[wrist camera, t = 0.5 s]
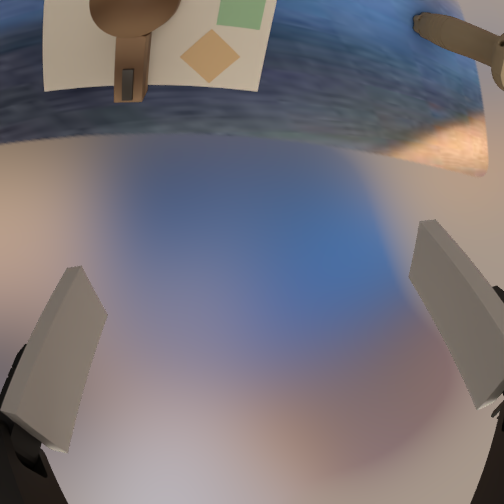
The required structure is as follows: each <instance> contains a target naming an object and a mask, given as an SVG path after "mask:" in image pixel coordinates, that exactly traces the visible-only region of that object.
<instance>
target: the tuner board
mask: <svg viewBox="0 0 504 504" xmlns="http://www.w3.org/2000/svg"><path fill="white" fill-rule="evenodd" d="M276 2H277V0H181V2H180V5H179V7H178V9H177V11H176V12H175V14H174V15H173V16H172V17H171V18H170V19H169V20H168V21H167V22H166V23H164V24H163V25H162V26H160V27H158V28H157V29H155V30H154V31H152V37H151V47H150V59H149V72H148V85H184V86H203V87H217V88H229V89H239V90H248V91H256V92H257V91H258V86H259V81H260V76H261V71H262V67H263V62H264V57H265V52H266V48H267V43H268V38H269V34H270V29H271V24H272V20H273V15H274V11H275V6H276ZM115 47H116V37H115V36H112V35H109V34H107V33H105V32H104V31H102V30H101V29H100V28H99V27H98V26H97V25H96V24H95V22H94V21H93V19H92V17H91V14H90V9H89V0H44V16H43V77H44V92H46V91H54V90H62V89H72V88H83V87H96V86H114V69H115Z"/></svg>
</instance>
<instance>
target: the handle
mask: <svg viewBox="0 0 504 504" xmlns="http://www.w3.org/2000/svg"><path fill="white" fill-rule="evenodd" d="M413 20H414V27H413V29H414V31H415V32H417V33H419V34H420V36H421V37H423V38H425V39H427V40H429V41H431V42H432V43H434V44H436V45H438V46H440V47H442V48H444V49H447V50H449V51H452V52H455V53H457V54H460V55H463V56H466V57H469V58H471V59H474V60H476V61H479V62H481V63H483V64H486V65H488V66H490V67H491V71H492V76H493V79H494V81H495V83H496V84H497V86H498V87H499V88H500V89H502V90H503V91H504V33H503V34H502V35H501V36H497V35H495V34H493V33H490V32H488V31H486V30H484V29H481V28H479V27H477V26H474V25H472V24H470V23H467V22H465V21H462V20H460V19H457V18H454V17H451V16H447V15H441V14H431V13H426V12H423V13H422V14H421V15H415V16H414V18H413Z"/></svg>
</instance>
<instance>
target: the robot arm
mask: <svg viewBox="0 0 504 504" xmlns="http://www.w3.org/2000/svg"><path fill="white" fill-rule="evenodd" d="M409 279H410V280H411V282H412V284H413V285H414V287H415V289H416V290H417V292H418V294H419V296H420V297H421V299H422V301H423V302H424V304H425V306H426V308H427V310H428V311H429V313H430V315H431V317H432V318H433V320H434V322H435V324H436V326H437V328H438V330H439V331H440V333H441V335H442V337H443V339H444V341H445V343H446V345H447V347H448V349H449V351H450V353H451V355H452V357H453V359H454V361H455V363H456V365H457V367H458V369H459V372H460V373H461V376H462V378H463V380H464V382H465V384H466V387H467V389H468V391H469V393H470V396H471V398H472V400H473V403H474V405H475V407H476V410H479V409H481V408H483V407H485V406H487V405H490V404H492V403H494V402H495V401H496V399H497V398H498V397H499V396H500V395H501V394H502V393H503V395H504V291H503V290H502V289H500V288H499V287H498V286H494V287H491V285H490V284H489V283H488V281H487V280H486V279H485V277H484V276H483V275H482V274H481V272H480V271H479V270H478V268H477V267H476V266H475V265H474V263H473V262H472V261H471V260H470V258H469V257H468V256H467V255H466V254H465V252H464V251H463V250H462V249H461V248H460V247H459V246H458V244H457V243H456V242H455V241H454V240H453V239H452V238H451V236H450V235H449V234H448V233H447V232H446V231H445V230H444V228H443V227H442V226H441V225H440V224H439V223H438V222H437V221H436V220H428V221H420V222H419V228H418V234H417V240H416V244H415V249H414V254H413V259H412V264H411V268H410V273H409ZM107 315H108V314H107V312H106V311H105V309H104V307H103V305H102V304H101V302H100V300H99V298H98V296H97V295H96V293H95V291H94V289H93V287H92V285H91V283H90V281H89V279H88V277H87V276H86V273H85V272H84V269H83V268H82V266H78V267H71V268H67V269H66V271H65V273H64V274H63V276H62V278H61V279H60V281H59V283H58V285H57V286H56V288H55V290H54V292H53V294H52V295H51V297H50V299H49V301H48V303H47V305H46V307H45V309H44V311H43V313H42V315H41V316H40V318H39V320H38V322H37V325H36V327H35V328H34V330H33V332H32V334H31V337H30V339H29V341H28V343H27V344H25V345H24V347H23V348H22V349H21V350H20V351H19V353H18V354H17V355H16V358H15V360H14V363H13V365H12V368H11V369H10V372H9V374H8V378H7V379H6V381H5V384H4V386H3V389H2V392H1V394H0V504H68V503H67V501H66V499H65V497H64V495H63V493H62V491H61V489H60V487H59V484H58V482H57V480H56V478H55V476H54V473H53V471H52V469H51V467H50V464H49V462H48V460H47V457H46V455H45V453H44V452H43V450H42V449H40V447H41V443H43V444H44V445H46V446H47V447H48V448H50V449H51V450H55V451H59V452H64V453H68V450H69V446H70V442H71V437H72V433H73V429H74V425H75V420H76V417H77V413H78V409H79V405H80V401H81V398H82V394H83V390H84V387H85V383H86V380H87V376H88V373H89V370H90V367H91V363H92V360H93V357H94V354H95V351H96V348H97V344H98V342H99V339H100V336H101V333H102V330H103V327H104V324H105V321H106V318H107ZM499 411H500V413H499V416H498V417H497V419H498V422H497V426H496V430H495V434H494V437H493V441H492V444H491V448H490V451H489V454H488V458H487V461H486V464H485V467H484V470H483V473H482V475H481V478H480V481H479V483H478V486H477V489H476V491H475V494H474V496H473V499H472V501H471V504H504V400H503V402H502V403H501V404H500V405H499V406H498V407H497V408H496V409H495V410H494V411H493V413H492V415H491V417H494V416H495V415H496V414H497V413H498V412H499Z"/></svg>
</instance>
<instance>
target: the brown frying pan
mask: <svg viewBox="0 0 504 504" xmlns="http://www.w3.org/2000/svg"><path fill="white" fill-rule="evenodd" d="M180 2H181V0H89V9H90V14H91V17H92V19H93V21H94V22H95V24H96V25H97V26H98V27H99V28H100V29H101V30H102V31H104V32H105V33H107V34H109V35H112V36H115V37H116V47H115V69H114V102H142V100H143V98H144V96H145V94H146V92H147V89H148V72H149V59H150V47H151V37H152V31H154V30H155V29H157V28H158V27H160V26H162V25H163V24H164V23H166V22H167V21H168V20H169V19H170V18H171V17H172V16H173V15H174V14H175V12H176V11H177V9H178V7H179V5H180Z"/></svg>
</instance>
